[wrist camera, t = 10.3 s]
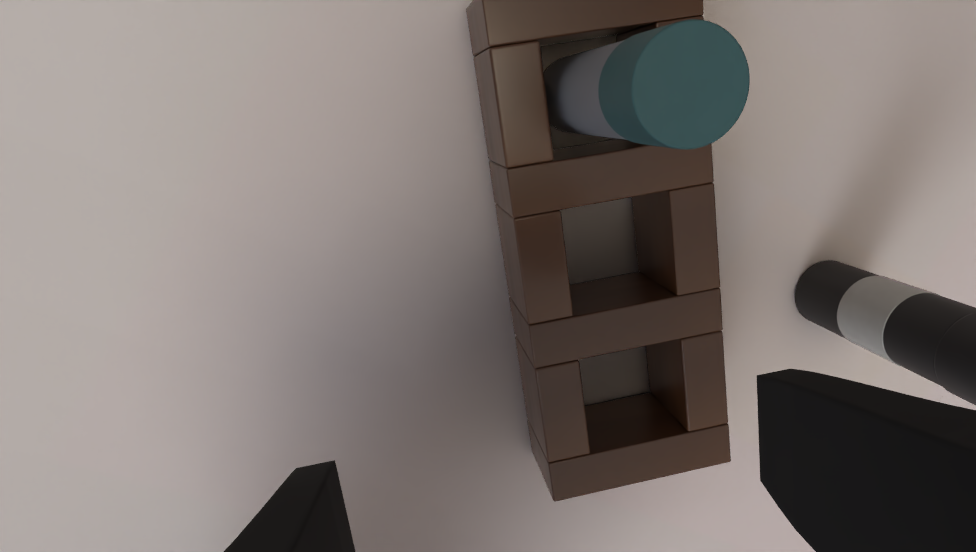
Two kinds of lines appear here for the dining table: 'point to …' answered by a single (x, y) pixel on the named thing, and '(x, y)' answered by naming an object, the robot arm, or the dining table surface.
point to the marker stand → (610, 301)
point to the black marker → (895, 322)
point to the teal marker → (653, 87)
